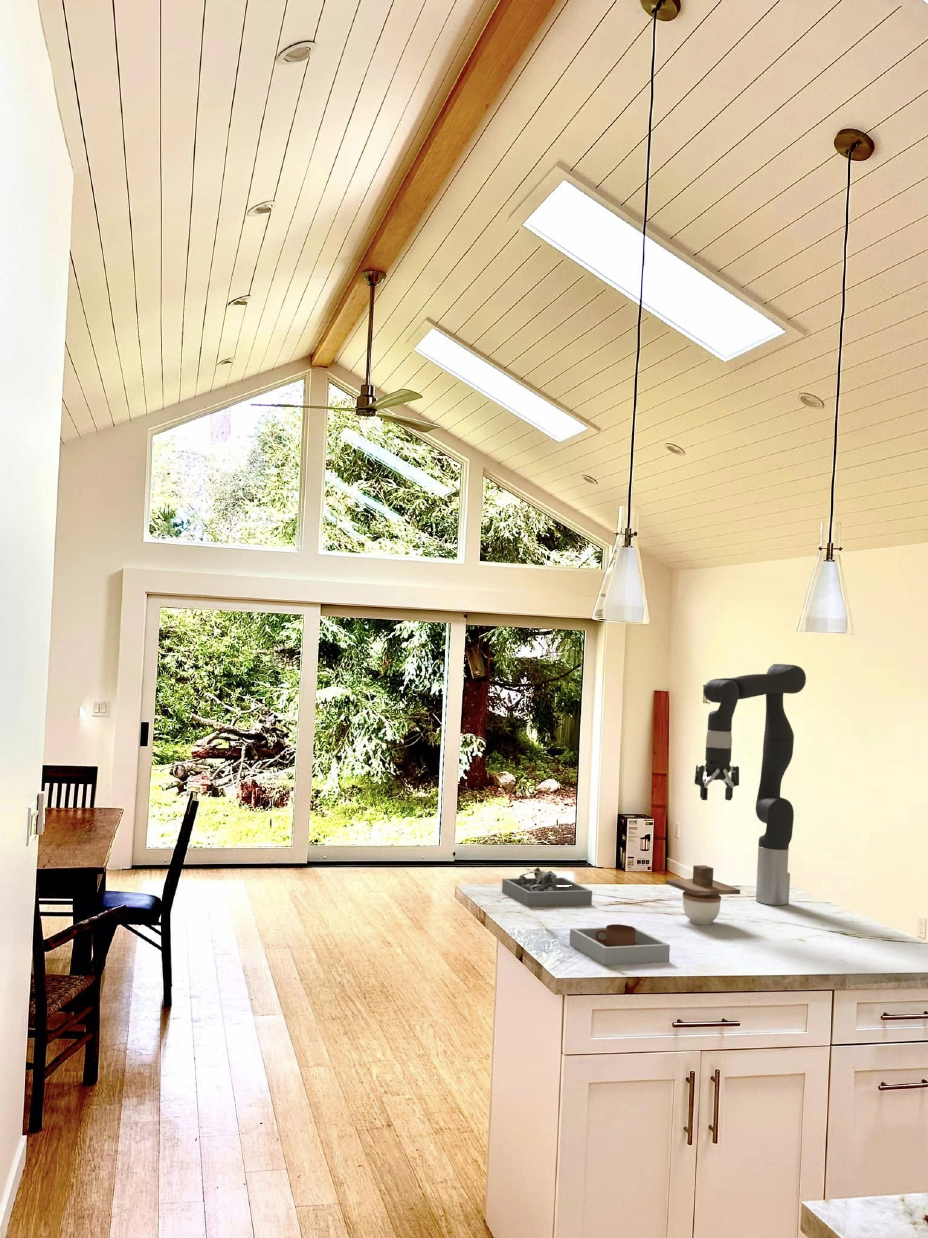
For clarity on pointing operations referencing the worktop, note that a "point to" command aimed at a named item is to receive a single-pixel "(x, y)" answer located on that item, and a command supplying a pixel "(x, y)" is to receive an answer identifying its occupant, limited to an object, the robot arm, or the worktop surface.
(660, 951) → the grey square tray
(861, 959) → the worktop surface
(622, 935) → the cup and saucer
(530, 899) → the foil frame
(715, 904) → the lidded jar
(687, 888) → the walnut lid
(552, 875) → the foil
